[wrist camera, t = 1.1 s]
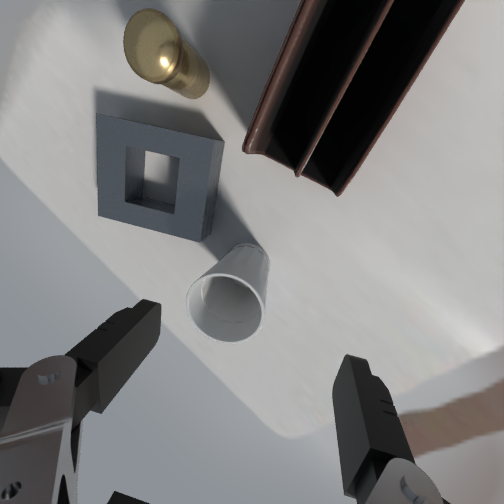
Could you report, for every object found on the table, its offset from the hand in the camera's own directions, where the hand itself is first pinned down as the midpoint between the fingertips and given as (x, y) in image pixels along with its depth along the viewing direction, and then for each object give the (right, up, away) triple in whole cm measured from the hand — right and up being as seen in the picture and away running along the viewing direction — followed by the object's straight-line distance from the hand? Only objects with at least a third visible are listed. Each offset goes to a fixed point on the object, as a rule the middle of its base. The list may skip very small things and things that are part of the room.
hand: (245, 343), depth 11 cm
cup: (0, +2, +25) cm, 26 cm away
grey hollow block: (-11, +14, +23) cm, 29 cm away
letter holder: (+10, +22, +17) cm, 29 cm away
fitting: (-7, +24, +19) cm, 31 cm away
